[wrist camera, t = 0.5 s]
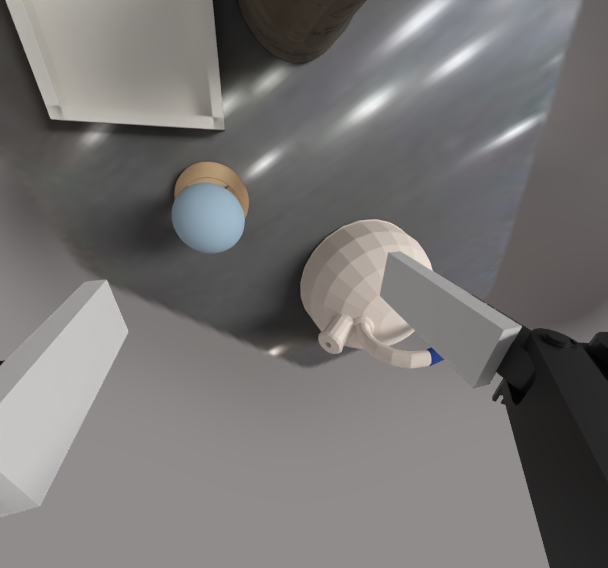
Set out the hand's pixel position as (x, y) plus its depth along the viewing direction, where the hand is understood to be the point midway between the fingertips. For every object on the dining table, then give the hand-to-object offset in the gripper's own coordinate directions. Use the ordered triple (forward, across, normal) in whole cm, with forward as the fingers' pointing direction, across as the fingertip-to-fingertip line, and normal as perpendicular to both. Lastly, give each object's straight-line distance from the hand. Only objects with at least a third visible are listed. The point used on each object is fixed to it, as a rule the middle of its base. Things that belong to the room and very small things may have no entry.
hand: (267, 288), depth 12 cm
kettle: (+22, +17, -13) cm, 31 cm away
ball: (+16, -3, 0) cm, 16 cm away
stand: (+21, -3, 0) cm, 22 cm away
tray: (+21, -8, +14) cm, 27 cm away
